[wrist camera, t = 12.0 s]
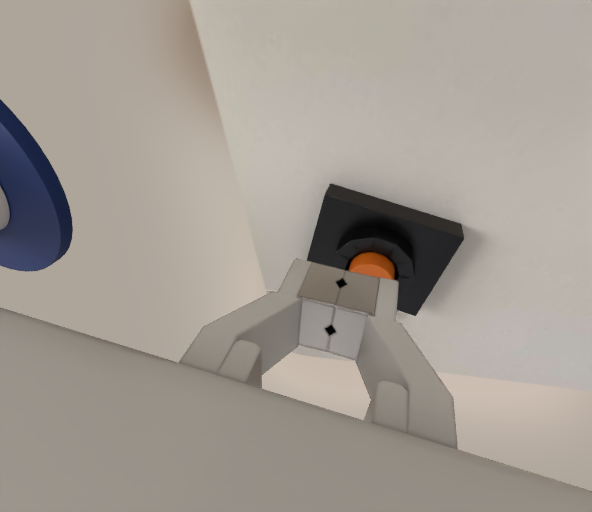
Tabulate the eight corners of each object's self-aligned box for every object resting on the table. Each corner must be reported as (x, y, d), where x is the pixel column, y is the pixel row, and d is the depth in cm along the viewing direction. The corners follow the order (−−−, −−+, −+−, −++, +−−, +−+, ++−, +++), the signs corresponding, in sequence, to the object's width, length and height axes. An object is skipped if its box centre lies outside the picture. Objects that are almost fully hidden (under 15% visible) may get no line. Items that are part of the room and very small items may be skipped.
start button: (344, 278, 29) (341, 291, 27) (357, 245, 26) (354, 258, 25) (385, 292, 28) (383, 306, 27) (401, 260, 26) (400, 274, 25)
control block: (308, 263, 34) (296, 289, 31) (330, 183, 28) (319, 204, 25) (415, 300, 32) (415, 331, 29) (461, 223, 27) (467, 251, 24)
